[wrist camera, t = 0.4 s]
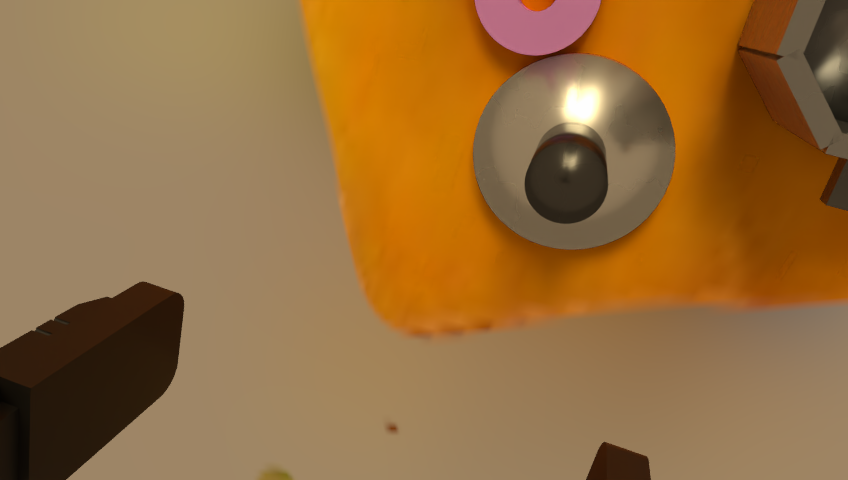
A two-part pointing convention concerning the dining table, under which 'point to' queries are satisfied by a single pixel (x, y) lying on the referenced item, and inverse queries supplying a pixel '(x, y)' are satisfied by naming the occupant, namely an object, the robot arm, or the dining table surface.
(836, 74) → the pot
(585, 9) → the bracket
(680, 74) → the dining table surface
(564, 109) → the lid
